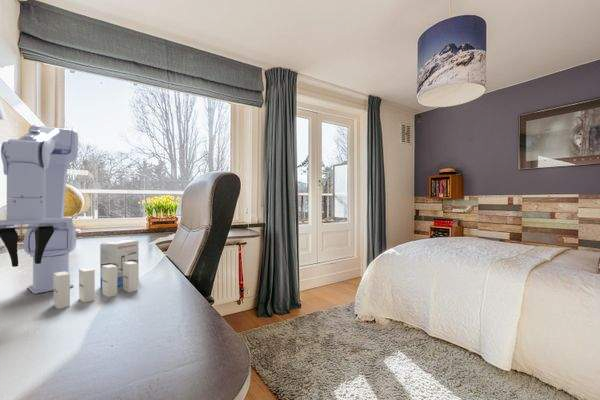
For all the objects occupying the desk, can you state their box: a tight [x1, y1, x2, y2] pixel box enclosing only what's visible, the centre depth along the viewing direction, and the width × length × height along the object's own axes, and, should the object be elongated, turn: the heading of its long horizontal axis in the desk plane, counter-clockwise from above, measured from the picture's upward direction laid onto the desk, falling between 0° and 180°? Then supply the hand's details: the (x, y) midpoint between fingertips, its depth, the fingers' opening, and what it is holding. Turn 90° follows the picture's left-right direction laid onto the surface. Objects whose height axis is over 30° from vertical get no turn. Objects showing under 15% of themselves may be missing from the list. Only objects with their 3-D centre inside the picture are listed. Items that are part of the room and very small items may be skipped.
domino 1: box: [53, 271, 71, 310], centre depth 61 cm, size 4×2×7 cm, turn 51°
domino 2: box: [78, 267, 96, 303], centre depth 65 cm, size 4×2×7 cm, turn 51°
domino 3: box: [101, 264, 118, 298], centre depth 69 cm, size 4×2×7 cm, turn 51°
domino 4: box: [122, 261, 139, 293], centre depth 72 cm, size 4×2×7 cm, turn 51°
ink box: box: [99, 239, 139, 288], centre depth 78 cm, size 9×5×12 cm, turn 168°
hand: (26, 264), depth 57 cm, fingers open, 3 cm apart
